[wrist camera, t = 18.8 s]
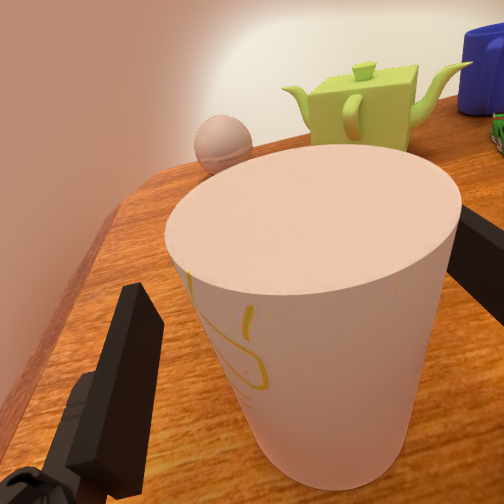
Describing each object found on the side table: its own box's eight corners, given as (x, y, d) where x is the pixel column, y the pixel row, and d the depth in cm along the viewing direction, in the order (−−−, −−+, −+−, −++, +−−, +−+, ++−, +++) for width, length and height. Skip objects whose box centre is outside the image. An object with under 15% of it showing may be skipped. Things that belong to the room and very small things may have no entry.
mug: (438, 129, 41) (452, 43, 35) (456, 103, 48) (470, 27, 42) (515, 129, 37) (546, 30, 31) (522, 100, 43) (549, 14, 37)
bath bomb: (204, 170, 47) (188, 117, 42) (254, 158, 47) (243, 103, 42) (203, 192, 41) (183, 131, 36) (260, 178, 40) (248, 116, 36)
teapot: (289, 159, 44) (279, 76, 38) (366, 132, 46) (368, 50, 40) (356, 195, 32) (357, 82, 25) (455, 156, 34) (478, 45, 28)
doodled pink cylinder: (245, 344, 20) (184, 172, 12) (371, 323, 19) (381, 129, 12) (251, 501, 13) (130, 327, 6) (443, 477, 12) (563, 249, 5)
